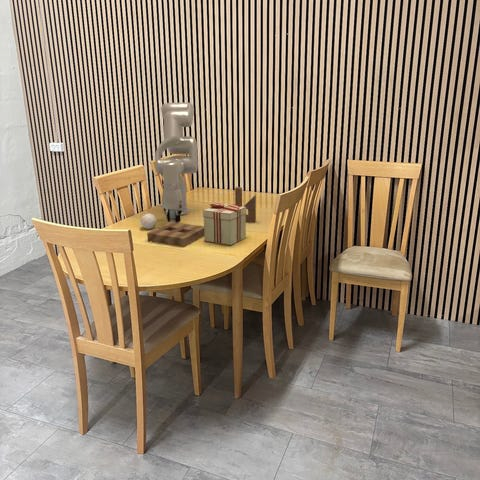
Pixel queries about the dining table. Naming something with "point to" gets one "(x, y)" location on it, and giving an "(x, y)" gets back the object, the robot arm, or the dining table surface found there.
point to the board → (176, 234)
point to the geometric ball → (148, 221)
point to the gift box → (224, 223)
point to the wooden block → (246, 205)
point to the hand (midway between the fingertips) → (173, 221)
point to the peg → (172, 215)
